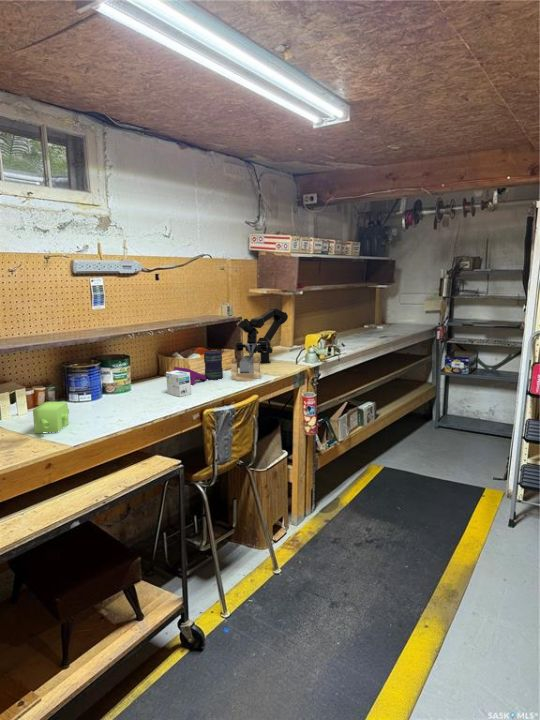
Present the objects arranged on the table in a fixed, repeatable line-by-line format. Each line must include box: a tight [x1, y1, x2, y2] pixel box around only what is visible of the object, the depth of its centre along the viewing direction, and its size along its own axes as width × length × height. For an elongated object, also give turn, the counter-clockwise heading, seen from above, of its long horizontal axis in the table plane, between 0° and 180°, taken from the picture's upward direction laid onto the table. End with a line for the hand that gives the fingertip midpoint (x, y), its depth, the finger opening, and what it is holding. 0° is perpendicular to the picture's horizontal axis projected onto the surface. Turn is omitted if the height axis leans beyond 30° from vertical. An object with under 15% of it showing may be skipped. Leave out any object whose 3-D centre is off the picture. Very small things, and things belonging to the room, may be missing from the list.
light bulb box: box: [165, 370, 192, 397], centre depth 222 cm, size 11×7×11 cm, turn 47°
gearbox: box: [32, 401, 70, 434], centre depth 174 cm, size 18×10×10 cm, turn 2°
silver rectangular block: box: [239, 355, 255, 373], centre depth 258 cm, size 20×5×10 cm, turn 175°
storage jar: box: [203, 349, 224, 381], centre depth 254 cm, size 10×10×15 cm
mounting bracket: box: [172, 366, 207, 386], centre depth 245 cm, size 9×8×18 cm
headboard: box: [230, 357, 261, 382], centre depth 248 cm, size 6×15×12 cm, turn 86°
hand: (251, 357), depth 276 cm, fingers closed
